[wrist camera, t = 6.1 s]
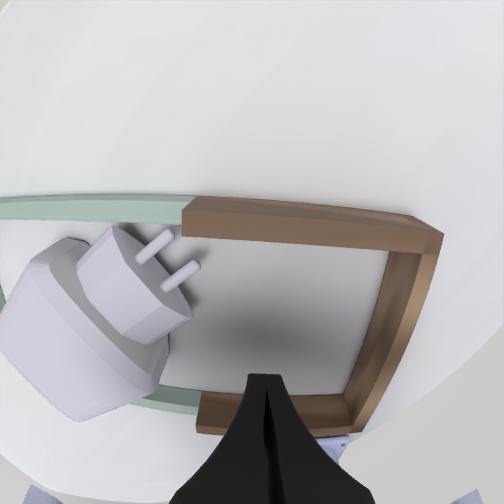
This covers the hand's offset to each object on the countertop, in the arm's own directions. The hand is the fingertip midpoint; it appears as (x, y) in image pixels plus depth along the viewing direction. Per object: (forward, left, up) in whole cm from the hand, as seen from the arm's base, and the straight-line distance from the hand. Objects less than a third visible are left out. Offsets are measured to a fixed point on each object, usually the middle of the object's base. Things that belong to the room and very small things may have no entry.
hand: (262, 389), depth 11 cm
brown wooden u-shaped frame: (0, -2, -5) cm, 5 cm away
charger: (0, +9, -5) cm, 11 cm away
